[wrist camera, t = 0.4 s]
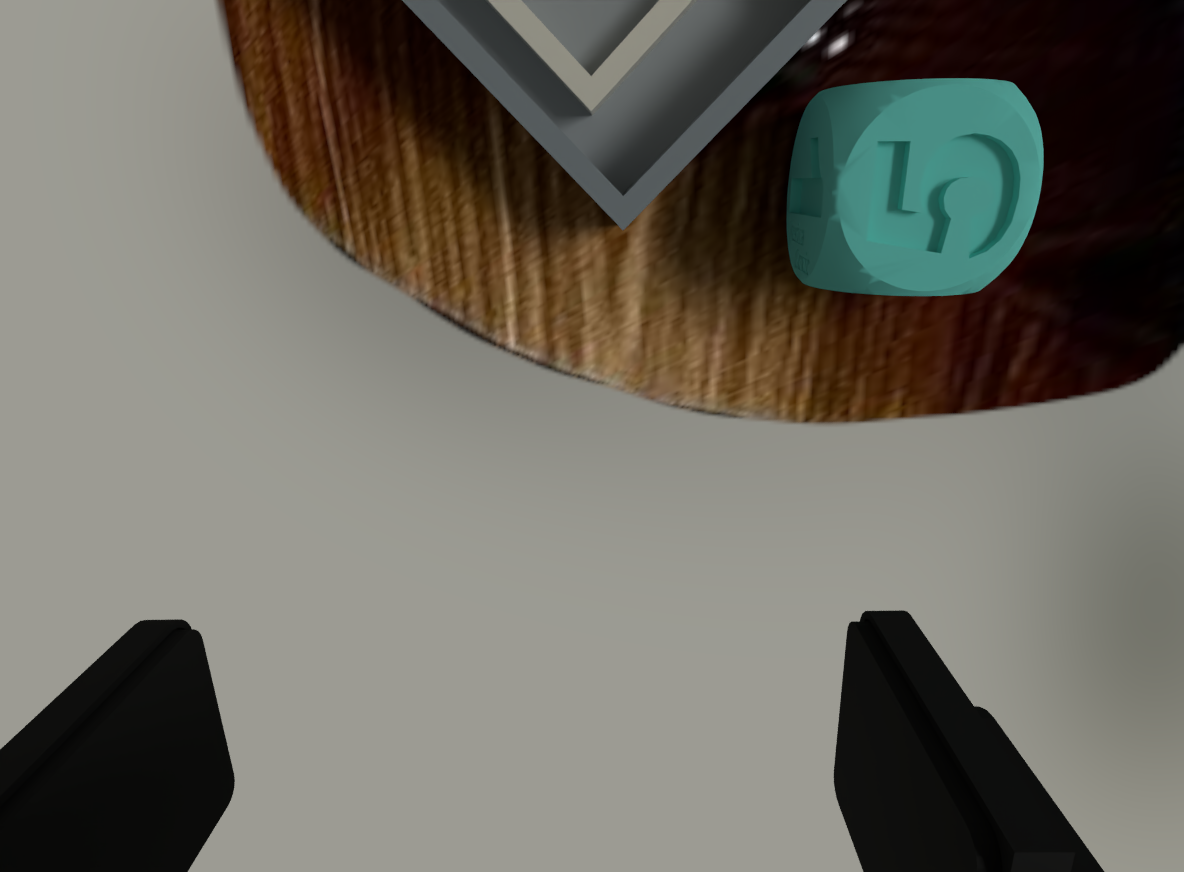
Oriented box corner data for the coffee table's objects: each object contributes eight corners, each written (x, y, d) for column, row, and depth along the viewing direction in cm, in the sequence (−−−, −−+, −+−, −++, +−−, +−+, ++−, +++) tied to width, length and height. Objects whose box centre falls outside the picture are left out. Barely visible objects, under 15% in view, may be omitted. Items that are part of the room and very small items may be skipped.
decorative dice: (793, 101, 35) (844, 78, 27) (965, 99, 35) (1064, 76, 27) (780, 273, 37) (823, 296, 30) (940, 273, 37) (1024, 296, 30)
